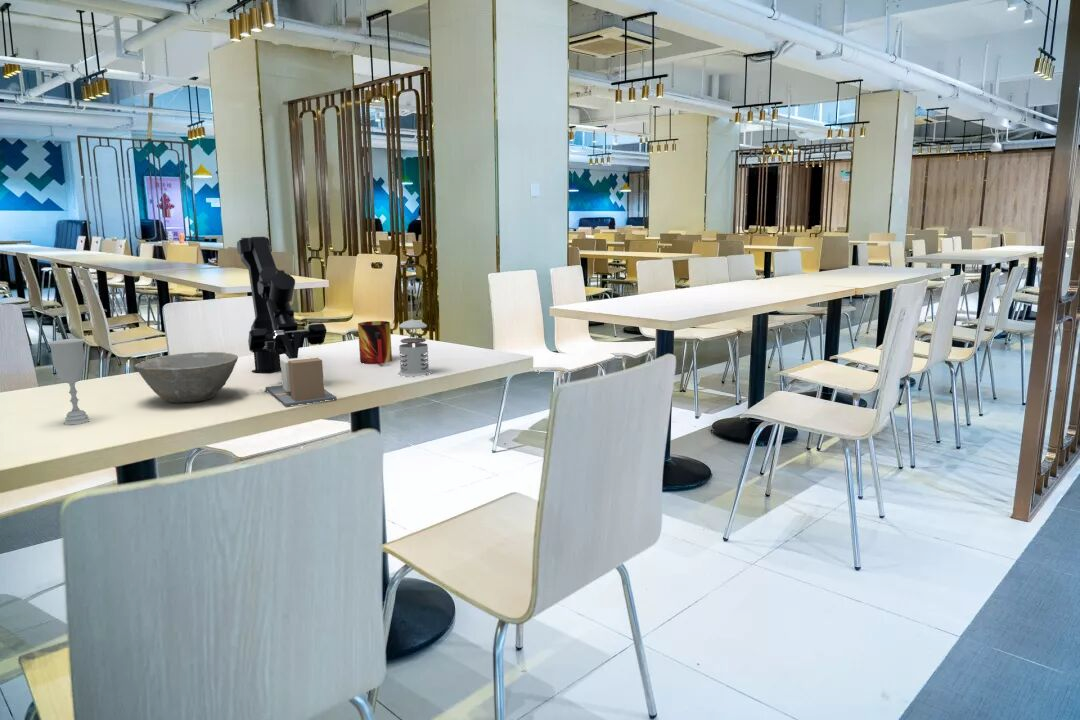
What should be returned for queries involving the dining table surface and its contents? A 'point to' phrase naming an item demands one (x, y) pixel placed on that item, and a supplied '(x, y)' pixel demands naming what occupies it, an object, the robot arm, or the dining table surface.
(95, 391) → the dining table surface
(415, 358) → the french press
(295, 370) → the rod stand
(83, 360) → the chalice
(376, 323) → the mug
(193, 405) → the dining table surface
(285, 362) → the sleeve
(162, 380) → the ceramic bowl
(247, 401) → the dining table surface
